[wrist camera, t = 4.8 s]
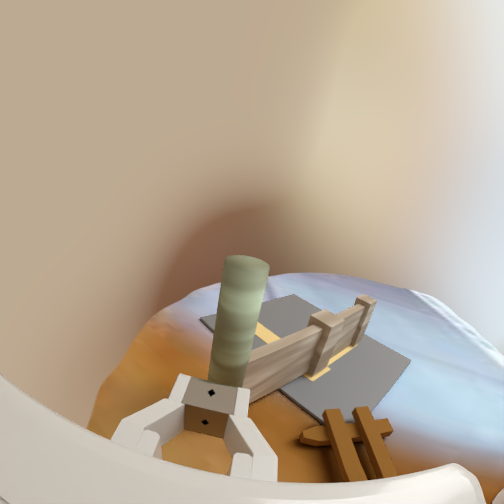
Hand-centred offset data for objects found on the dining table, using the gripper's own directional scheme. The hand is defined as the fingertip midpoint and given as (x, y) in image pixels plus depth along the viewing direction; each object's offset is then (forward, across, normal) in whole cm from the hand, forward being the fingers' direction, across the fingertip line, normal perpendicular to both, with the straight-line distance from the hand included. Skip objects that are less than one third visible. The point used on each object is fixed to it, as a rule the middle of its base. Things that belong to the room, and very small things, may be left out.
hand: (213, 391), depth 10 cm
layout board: (+24, -11, +13) cm, 30 cm away
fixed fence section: (+24, -15, +13) cm, 31 cm away
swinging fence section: (+14, -5, +13) cm, 20 cm away
